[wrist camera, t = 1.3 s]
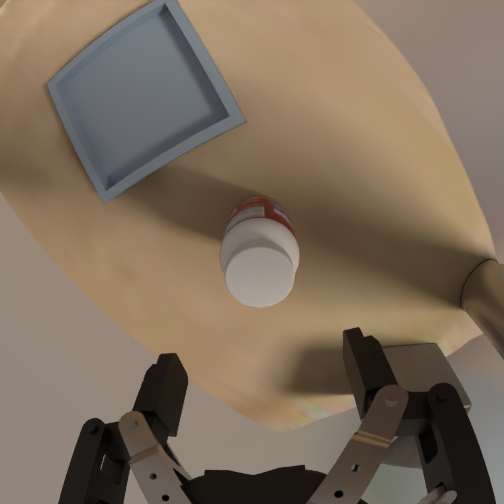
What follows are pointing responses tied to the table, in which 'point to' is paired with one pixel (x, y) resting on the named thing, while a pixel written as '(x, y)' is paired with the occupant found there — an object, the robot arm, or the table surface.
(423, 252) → the table surface
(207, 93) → the tray
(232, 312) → the table surface
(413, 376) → the planter
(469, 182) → the table surface
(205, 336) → the table surface
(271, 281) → the pill bottle
